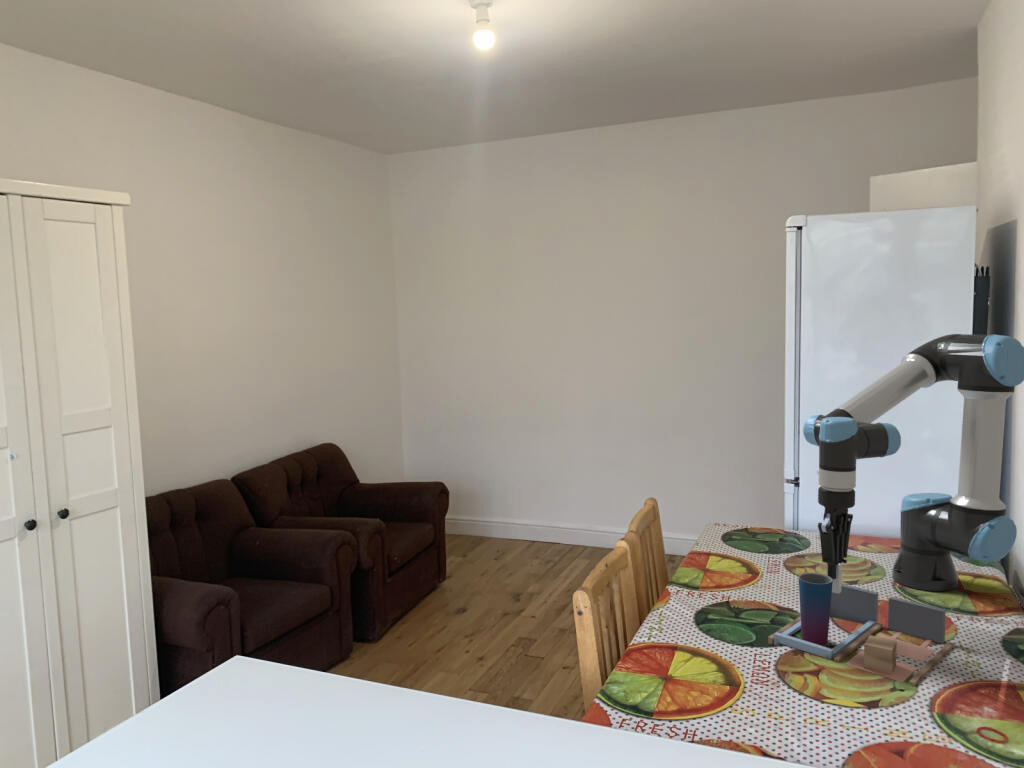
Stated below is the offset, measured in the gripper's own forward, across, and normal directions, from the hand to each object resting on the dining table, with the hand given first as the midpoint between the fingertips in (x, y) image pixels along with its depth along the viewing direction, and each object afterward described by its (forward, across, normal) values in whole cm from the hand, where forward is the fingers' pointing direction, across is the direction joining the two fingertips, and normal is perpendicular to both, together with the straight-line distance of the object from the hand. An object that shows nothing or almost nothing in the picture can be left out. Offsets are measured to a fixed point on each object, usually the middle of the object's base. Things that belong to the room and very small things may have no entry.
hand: (833, 591), depth 170 cm
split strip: (+9, +3, +15) cm, 18 cm away
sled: (+9, +3, 0) cm, 10 cm away
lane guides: (+9, +4, +7) cm, 13 cm away
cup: (+10, +10, 0) cm, 14 cm away
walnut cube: (+8, +12, +15) cm, 21 cm away
